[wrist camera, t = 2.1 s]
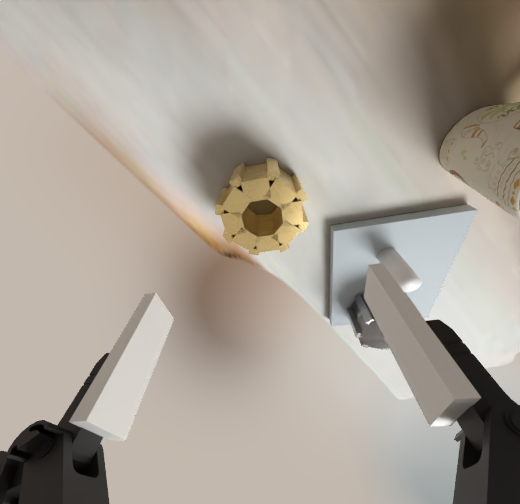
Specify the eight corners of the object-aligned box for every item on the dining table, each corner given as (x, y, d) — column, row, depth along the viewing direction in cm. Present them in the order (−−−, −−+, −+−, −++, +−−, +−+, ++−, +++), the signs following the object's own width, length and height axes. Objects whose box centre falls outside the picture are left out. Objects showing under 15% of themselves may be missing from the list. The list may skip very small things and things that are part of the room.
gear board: (330, 225, 27) (348, 259, 21) (467, 204, 25) (526, 235, 19) (329, 319, 39) (340, 356, 33) (422, 309, 37) (451, 348, 31)
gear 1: (214, 167, 23) (203, 183, 19) (297, 151, 22) (305, 163, 18) (235, 237, 28) (230, 260, 24) (303, 226, 27) (310, 249, 23)
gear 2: (347, 289, 32) (362, 322, 27) (414, 281, 31) (441, 314, 26) (344, 325, 37) (356, 358, 33) (400, 320, 36) (421, 353, 32)
